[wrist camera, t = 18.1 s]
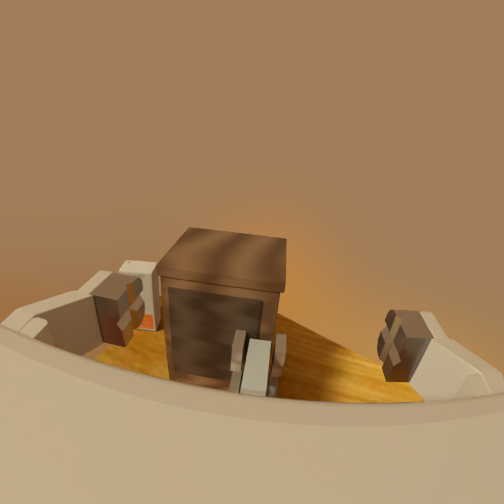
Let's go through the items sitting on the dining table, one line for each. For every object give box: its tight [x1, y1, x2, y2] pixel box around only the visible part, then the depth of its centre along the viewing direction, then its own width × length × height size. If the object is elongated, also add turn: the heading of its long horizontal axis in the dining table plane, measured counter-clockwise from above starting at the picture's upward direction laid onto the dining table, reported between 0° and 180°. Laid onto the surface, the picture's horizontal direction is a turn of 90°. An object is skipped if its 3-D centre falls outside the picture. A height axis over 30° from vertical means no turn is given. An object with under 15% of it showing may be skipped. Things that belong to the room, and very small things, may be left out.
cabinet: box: [156, 228, 287, 398], centre depth 43 cm, size 16×17×19 cm
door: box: [240, 339, 276, 397], centre depth 34 cm, size 4×8×12 cm, turn 174°
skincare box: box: [119, 260, 161, 331], centre depth 52 cm, size 6×4×12 cm
